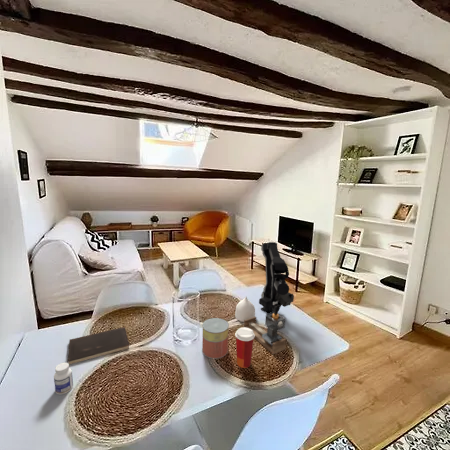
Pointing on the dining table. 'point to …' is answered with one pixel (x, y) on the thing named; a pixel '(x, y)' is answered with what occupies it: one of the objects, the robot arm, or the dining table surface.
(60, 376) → the pill bottle
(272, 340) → the carriage
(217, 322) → the canned food
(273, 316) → the button
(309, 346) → the dining table surface
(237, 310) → the teardrop
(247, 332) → the paper cup
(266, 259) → the robot arm
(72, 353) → the hardcover book
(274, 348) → the rail
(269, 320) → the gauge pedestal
